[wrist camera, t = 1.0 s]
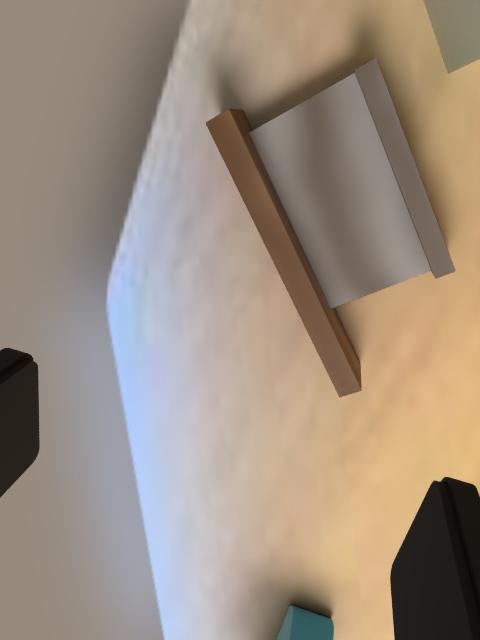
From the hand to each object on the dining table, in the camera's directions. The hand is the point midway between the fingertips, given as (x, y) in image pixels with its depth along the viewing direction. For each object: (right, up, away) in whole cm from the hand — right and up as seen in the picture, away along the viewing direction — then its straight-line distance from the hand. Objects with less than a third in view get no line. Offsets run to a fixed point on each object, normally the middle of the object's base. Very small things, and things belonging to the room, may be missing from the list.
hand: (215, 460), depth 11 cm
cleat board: (+8, +10, +21) cm, 24 cm away
